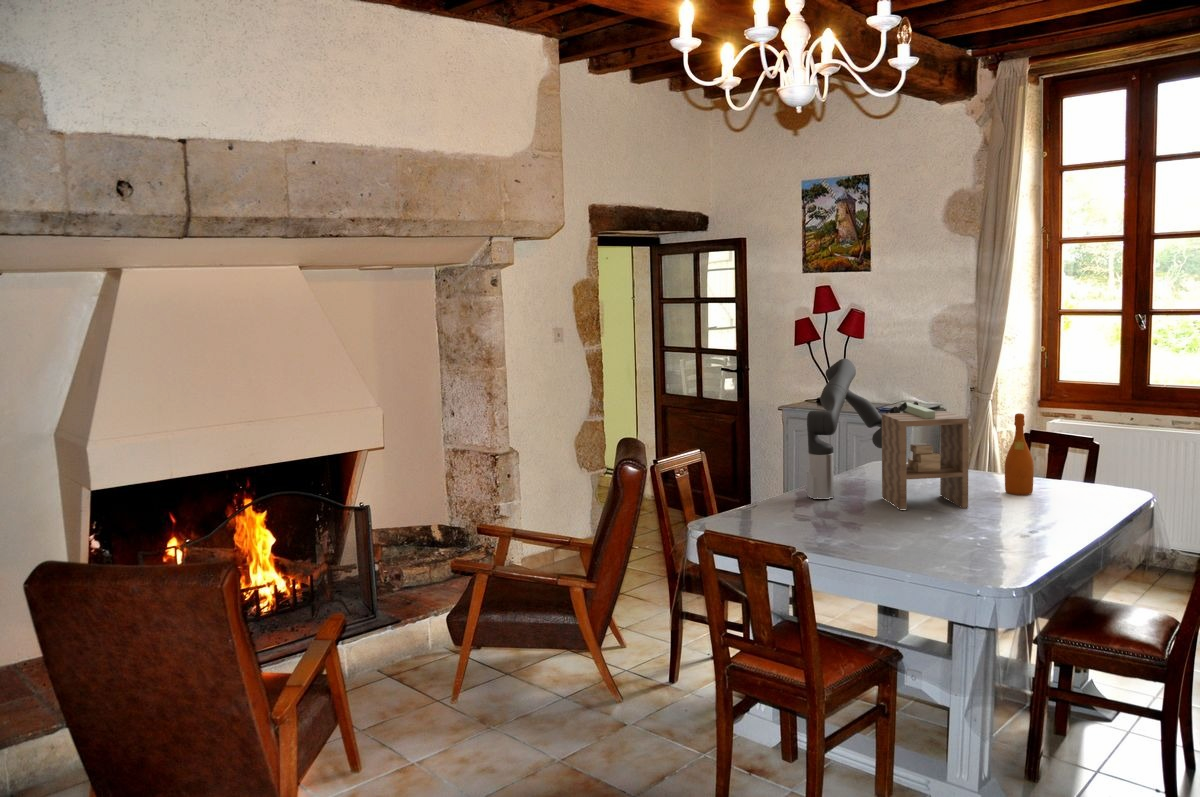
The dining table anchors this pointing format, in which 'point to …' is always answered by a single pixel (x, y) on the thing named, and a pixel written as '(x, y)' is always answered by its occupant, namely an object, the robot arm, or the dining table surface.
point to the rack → (925, 457)
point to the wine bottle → (1019, 463)
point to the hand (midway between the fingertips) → (911, 404)
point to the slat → (919, 410)
